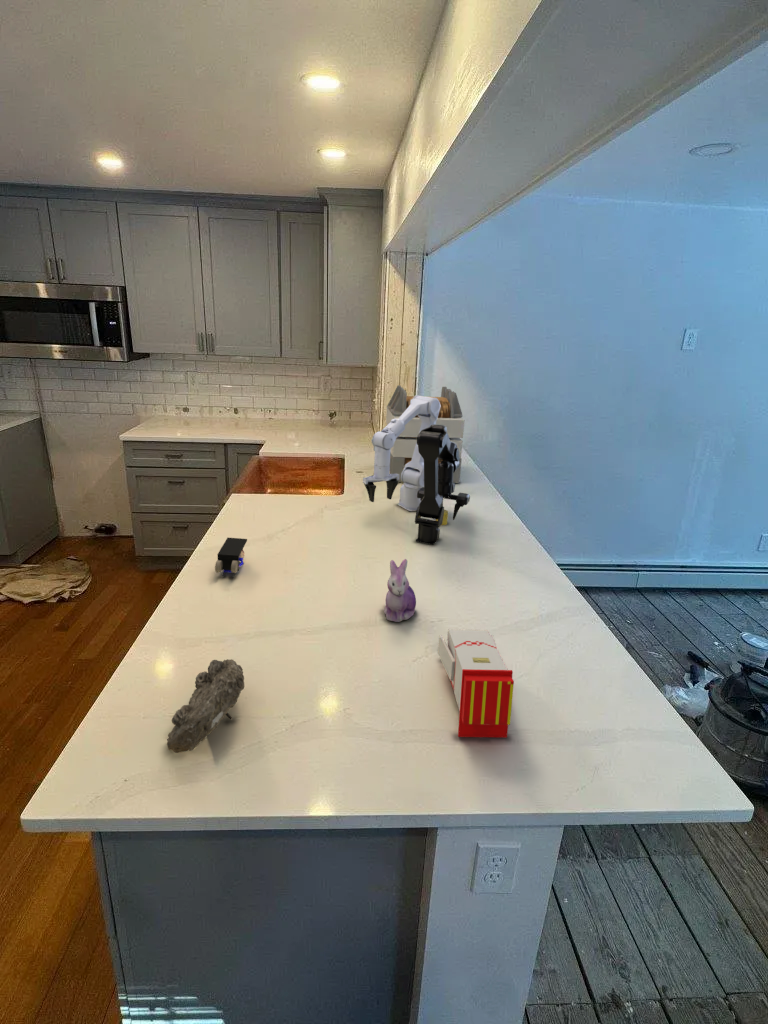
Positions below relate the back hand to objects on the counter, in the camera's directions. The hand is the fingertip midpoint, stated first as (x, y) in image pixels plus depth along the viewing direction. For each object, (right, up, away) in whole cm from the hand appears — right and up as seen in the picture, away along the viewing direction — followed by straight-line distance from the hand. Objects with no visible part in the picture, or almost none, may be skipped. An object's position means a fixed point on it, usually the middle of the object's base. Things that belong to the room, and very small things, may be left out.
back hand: (380, 499), depth 211 cm
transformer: (+19, +14, +64) cm, 68 cm away
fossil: (-31, -44, -103) cm, 117 cm away
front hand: (+23, -7, 0) cm, 24 cm away
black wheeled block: (-44, -22, -44) cm, 65 cm away
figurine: (+5, -31, -64) cm, 71 cm away
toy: (+19, -42, -93) cm, 104 cm away
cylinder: (+23, -9, 0) cm, 24 cm away
